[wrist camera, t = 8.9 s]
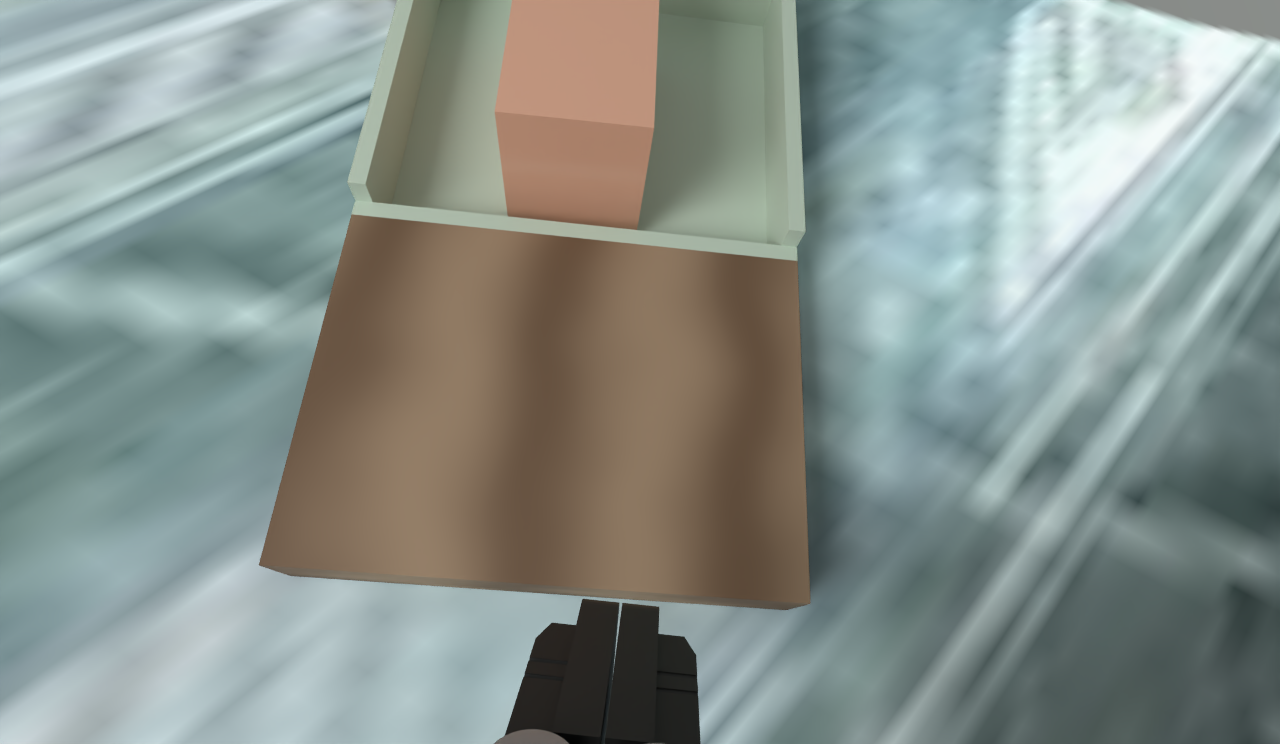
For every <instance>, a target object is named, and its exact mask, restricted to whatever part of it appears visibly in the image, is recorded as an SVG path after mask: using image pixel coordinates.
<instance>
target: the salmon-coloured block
mask: <svg viewBox="0 0 1280 744" xmlns="http://www.w3.org/2000/svg"><path fill="white" fill-rule="evenodd" d="M658 20H659V0H512V4H511V10H510V17H509V23H508V29H507V36H506V42H505V48H504V55H503V61H502V68H501V74H500V80H499V87H498V93H497V100H496V106H495V119H496V127H497V135H498V143H499V151H500V159H501V167H502V175H503V183H504V191H505V199H506V207H507V215H508V216H509V217H518V218H528V219H537V220H547V221H556V222H565V223H575V224H584V225H594V226H603V227H613V228H622V229H631V230H637V227H638V222H639V216H640V210H641V204H642V198H643V192H644V186H645V180H646V174H647V168H648V162H649V156H650V150H651V144H652V138H653V132H654V119H655V94H656V69H657V45H658Z"/></svg>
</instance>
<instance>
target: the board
mask: <svg viewBox="0 0 1280 744" xmlns="http://www.w3.org/2000/svg"><path fill="white" fill-rule="evenodd" d="M259 565H260V566H263V567H266V568H269V569H272V570H275V571H278V572H281V573H284V574H287V575H290V576H300V577H315V578H329V579H344V580H358V581H373V582H387V583H402V584H416V585H431V586H445V587H459V588H474V589H488V590H503V591H517V592H532V593H546V594H561V595H575V596H590V597H604V598H619V599H633V600H648V601H662V602H677V603H691V604H706V605H720V606H735V607H749V608H764V609H778V610H788V609H792V608H796V607H800V606H804V605H808V604H810V581H809V554H808V527H807V501H806V474H805V447H804V421H803V394H802V367H801V341H800V314H799V287H798V261H794V260H784V259H774V258H765V257H755V256H746V255H736V254H727V253H717V252H708V251H698V250H688V249H679V248H669V247H660V246H650V245H641V244H631V243H622V242H612V241H602V240H593V239H583V238H574V237H564V236H555V235H545V234H535V233H526V232H516V231H507V230H497V229H488V228H478V227H469V226H459V225H449V224H440V223H430V222H421V221H411V220H402V219H392V218H383V217H373V216H363V215H354V214H352V215H351V219H350V223H349V226H348V230H347V234H346V238H345V242H344V245H343V249H342V253H341V257H340V260H339V264H338V268H337V272H336V276H335V279H334V283H333V287H332V291H331V294H330V298H329V302H328V306H327V310H326V313H325V317H324V321H323V325H322V328H321V332H320V336H319V340H318V344H317V347H316V351H315V355H314V359H313V362H312V366H311V370H310V374H309V378H308V381H307V385H306V389H305V393H304V396H303V400H302V404H301V408H300V412H299V415H298V419H297V423H296V427H295V430H294V434H293V438H292V442H291V446H290V449H289V453H288V457H287V461H286V465H285V468H284V472H283V476H282V480H281V483H280V487H279V491H278V495H277V499H276V502H275V506H274V510H273V514H272V517H271V521H270V525H269V529H268V533H267V536H266V540H265V544H264V548H263V551H262V555H261V559H260V563H259Z"/></svg>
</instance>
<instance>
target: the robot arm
mask: <svg viewBox="0 0 1280 744" xmlns="http://www.w3.org/2000/svg"><path fill="white" fill-rule="evenodd" d="M618 614H619V603H617V602H607V601H598V600H589V599H582V603H581V607H580V611H579V616H578V620H577V624H576V625H568V624H559V623H551V624H550V625H549V626H548V627H547V628H546V629H545V630H544V631H543V632H542V633H541V634H540V635H539V636H538V637H537V638H536V639H535V642H534V646H533V649H532V652H531V655H530V660H529V661H528V664H527V668H526V671H525V675H524V677H523V680H522V683H521V686H520V690H519V693H518V696H517V699H516V702H515V705H514V708H513V712H512V715H511V718H510V721H509V724H508V727H507V730H506V734H505V736H504V737H502V738H500V739H499V740H498V741H496V742H495V743H494V744H700V726H699V706H698V685H697V664H696V654H695V653H694V651H693V650H692V648H691V647H690V645H689V643H688V642H687V640H686V639H685V637H681V636H672V635H663V634H658V627H659V607H656V606H646V605H637V604H628V603H622V611H621V618H620V626H619V634H618V642H617V649H616V657H615V647H616V636H617V625H618ZM614 658H615V665H614ZM613 668H614V673H613ZM612 679H613V680H612Z"/></svg>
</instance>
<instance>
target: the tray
mask: <svg viewBox="0 0 1280 744" xmlns="http://www.w3.org/2000/svg"><path fill="white" fill-rule="evenodd" d="M511 4H512V0H397V3H396V6H395V10H394V14H393V17H392V21H391V25H390V28H389V32H388V36H387V39H386V43H385V47H384V50H383V54H382V58H381V61H380V65H379V69H378V72H377V76H376V80H375V83H374V87H373V90H372V94H371V98H370V101H369V105H368V109H367V112H366V116H365V120H364V123H363V127H362V131H361V134H360V138H359V142H358V145H357V149H356V153H355V156H354V160H353V164H352V167H351V171H350V175H349V178H348V182H347V183H348V185H349V187H350V189H351V191H352V194H353V196H354V198H355V204H354V207H353V211H352V214H354V215H363V216H373V217H383V218H392V219H402V220H411V221H421V222H430V223H440V224H449V225H459V226H469V227H478V228H488V229H497V230H507V231H516V232H526V233H535V234H545V235H555V236H564V237H574V238H583V239H593V240H602V241H612V242H622V243H631V244H641V245H650V246H660V247H669V248H679V249H688V250H698V251H708V252H717V253H727V254H736V255H746V256H755V257H765V258H774V259H784V260H794V261H797V246H798V244H799V243H800V241H801V239H802V237H803V235H804V234H805V232H806V230H805V207H804V185H803V162H802V139H801V116H800V93H799V70H798V47H797V24H796V1H795V0H659V20H658V45H657V69H656V94H655V119H654V132H653V138H652V144H651V150H650V156H649V162H648V168H647V174H646V180H645V186H644V192H643V198H642V204H641V210H640V216H639V222H638V227H637V230H631V229H622V228H613V227H603V226H594V225H584V224H575V223H565V222H556V221H547V220H537V219H528V218H518V217H509V216H508V215H507V207H506V199H505V191H504V183H503V175H502V167H501V159H500V151H499V143H498V135H497V127H496V119H495V106H496V100H497V93H498V87H499V80H500V74H501V68H502V61H503V55H504V48H505V42H506V36H507V29H508V23H509V17H510V10H511Z"/></svg>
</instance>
